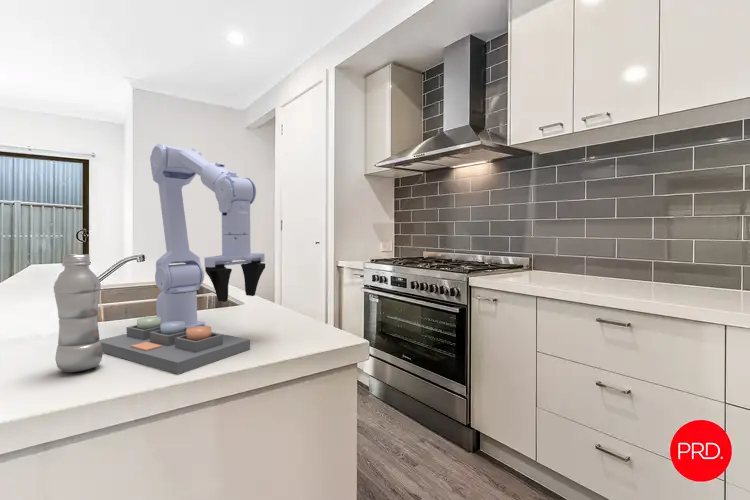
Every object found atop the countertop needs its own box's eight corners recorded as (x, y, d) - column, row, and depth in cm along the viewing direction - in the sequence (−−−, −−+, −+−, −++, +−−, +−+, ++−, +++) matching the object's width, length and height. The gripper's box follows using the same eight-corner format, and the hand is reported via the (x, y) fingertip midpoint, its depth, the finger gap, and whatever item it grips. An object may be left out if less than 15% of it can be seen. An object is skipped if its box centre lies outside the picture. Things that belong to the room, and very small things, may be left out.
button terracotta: (181, 340, 76) (181, 329, 76) (201, 334, 80) (201, 324, 80) (196, 343, 74) (196, 332, 74) (216, 337, 78) (216, 327, 78)
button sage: (132, 329, 84) (132, 319, 84) (153, 324, 88) (152, 315, 88) (145, 331, 82) (144, 322, 82) (165, 327, 86) (165, 318, 86)
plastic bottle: (72, 364, 73) (67, 253, 72) (111, 363, 73) (107, 253, 72) (46, 377, 66) (40, 256, 65) (89, 376, 67) (84, 256, 66)
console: (95, 350, 81) (95, 331, 80) (170, 332, 95) (169, 315, 94) (177, 374, 68) (177, 351, 68) (250, 349, 82) (249, 330, 82)
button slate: (155, 334, 80) (155, 324, 80) (176, 329, 84) (175, 319, 84) (169, 337, 78) (169, 327, 78) (189, 332, 82) (189, 322, 82)
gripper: (221, 235, 77) (222, 305, 78) (274, 234, 90) (274, 294, 91) (196, 234, 80) (198, 302, 81) (251, 233, 93) (252, 292, 94)
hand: (237, 298), depth 86 cm, fingers open, 7 cm apart
